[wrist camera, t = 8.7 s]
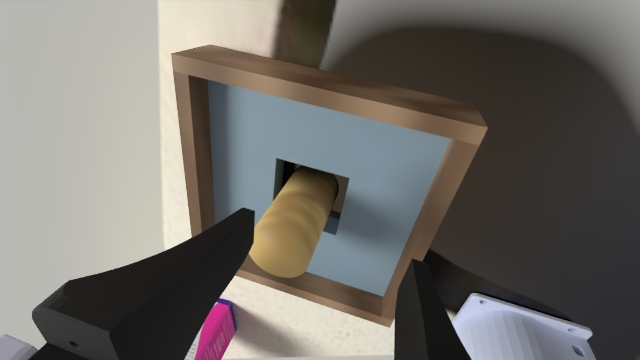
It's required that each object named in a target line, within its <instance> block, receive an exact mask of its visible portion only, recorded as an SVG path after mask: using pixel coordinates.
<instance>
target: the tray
mask: <svg viewBox="0 0 640 360" xmlns="http://www.w3.org/2000/svg"><path fill="white" fill-rule="evenodd" d="M171 56H172V65H173V74H174V83H175V92H176V101H177V109H178V118H179V127H180V136H181V145H182V154H183V163H184V171H185V180H186V189H187V198H188V207H189V216H190V224H191V233H192V237H194V236H196V235H198V234H200V233H202V232H203V231H205V230H207V229H208V228H210V227H212V226H213V225H215V211H214V192H213V173H212V154H211V136H210V117H209V98H208V80H212V81H216V82H220V83H224V84H228V85H232V86H236V87H241V88H245V89H249V90H253V91H257V92H261V93H265V94H269V95H273V96H278V97H282V98H286V99H290V100H294V101H298V102H302V103H306V104H310V105H315V106H319V107H323V108H327V109H331V110H335V111H339V112H343V113H348V114H352V115H356V116H360V117H364V118H368V119H372V120H376V121H380V122H385V123H389V124H393V125H397V126H401V127H405V128H409V129H413V130H417V131H422V132H426V133H430V134H434V135H438V136H442V137H446V138H450V142H449V144H448V146H447V149H446V151H445V153H444V156H443V158H442V160H441V163H440V165H439V167H438V170H437V172H436V174H435V177H434V179H433V182H432V184H431V186H430V189H429V191H428V193H427V196H426V198H425V200H424V203H423V205H422V207H421V210H420V212H419V214H418V217H417V219H416V221H415V224H414V226H413V228H412V231H411V233H410V235H409V238H408V240H407V242H406V245H405V247H404V249H403V252H402V254H401V256H400V259H399V261H398V263H397V266H396V268H395V270H394V273H393V275H392V277H391V280H390V282H389V284H388V287H387V289H386V291H385V294H384V296H380V295H377V294H374V293H371V292H367V291H364V290H361V289H358V288H355V287H352V286H349V285H346V284H343V283H340V282H337V281H334V280H331V279H327V278H324V277H321V276H318V275H315V274H312V273H309V272H306V271H305V272H304V273H303V274H301V275H299V276H297V277H292V278H284V277H279V276H275V275H272V274H270V273H268V272H266V271H265V270H263V269H262V268H260V267H259V266H258V265H257V264H256V263H255V262H254V261H253V260H252V258H251V257H250V255H249V253H248V255H247V257H246V259H245V261H244V262H243V264H242V265H241V267H240V268H239V270H238V271H237V273H236V274H235V275H236V276H239V277H242V278H244V279H247V280H250V281H253V282H256V283H259V284H262V285H265V286H268V287H271V288H274V289H277V290H280V291H283V292H286V293H289V294H292V295H295V296H298V297H301V298H304V299H306V300H309V301H312V302H315V303H318V304H321V305H324V306H327V307H330V308H333V309H336V310H339V311H342V312H345V313H348V314H351V315H354V316H357V317H360V318H363V319H366V320H369V321H371V322H374V323H377V324H380V325H383V326H386V327H389V328H390V326H391V324H392V322H393V320H394V318H395V308H396V300H397V293H398V288H399V286H400V284H401V281H402V279H403V277H404V275H405V273H406V271H407V268H408V266H409V264H410V262H411V260H412V259H416V260H419V261H423V259H424V257H425V255H426V253H427V251H428V249H429V247H430V245H431V243H432V241H433V239H434V237H435V235H436V233H437V231H438V228H439V227H440V224H441V222H442V221H443V218H444V216H445V214H446V212H447V210H448V208H449V206H450V204H451V202H452V200H453V198H454V196H455V194H456V192H457V190H458V188H459V186H460V184H461V182H462V180H463V178H464V176H465V174H466V172H467V170H468V168H469V166H470V164H471V162H472V159H473V158H474V156H475V154H476V151H477V149H478V147H479V145H480V143H481V141H482V139H483V137H484V135H485V133H486V131H487V129H488V127H487V125H486V123H485V121H484V120H483V118H482V116H481V114H480V112H479V111H478V109H477V107H476V105H475V104H471V103H466V102H462V101H458V100H453V99H449V98H444V97H440V96H436V95H431V94H426V93H422V92H418V91H413V90H409V89H404V88H400V87H396V86H391V85H387V84H382V83H377V82H373V81H369V80H364V79H360V78H355V77H351V76H347V75H342V74H338V73H333V72H329V71H324V70H320V69H316V68H311V67H307V66H302V65H298V64H293V63H289V62H284V61H280V60H276V59H271V58H267V57H262V56H258V55H253V54H249V53H244V52H240V51H236V50H231V49H227V48H222V47H218V46H213V45H206V46H202V47H197V48H193V49H189V50H185V51H181V52H176V53H172V54H171Z"/></svg>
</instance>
